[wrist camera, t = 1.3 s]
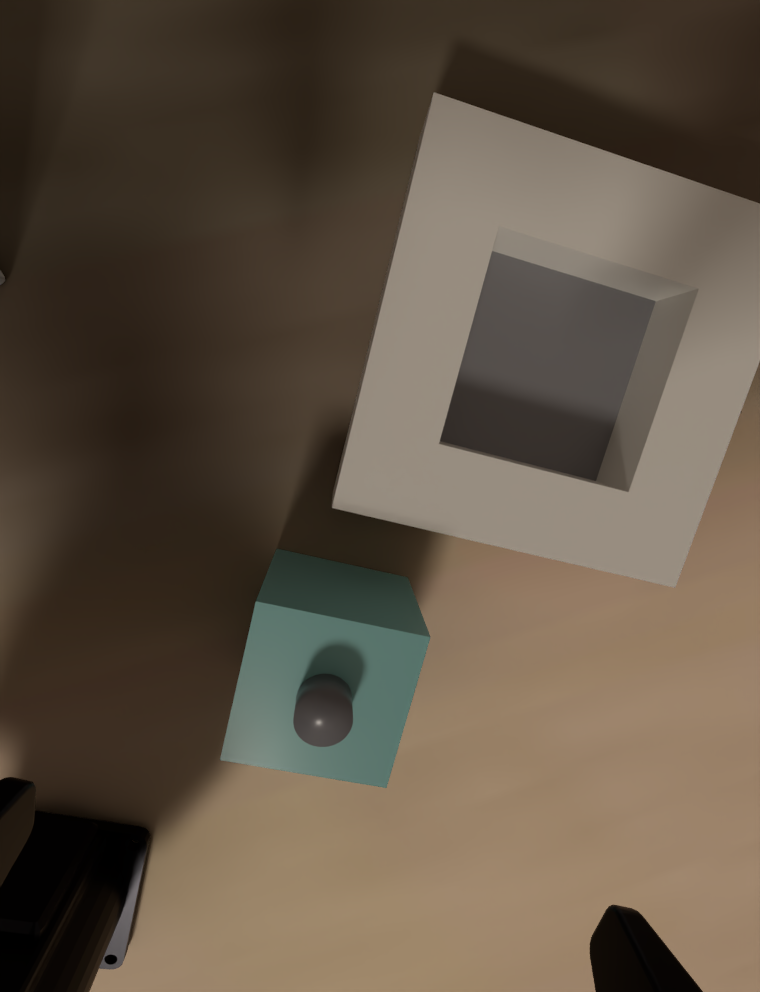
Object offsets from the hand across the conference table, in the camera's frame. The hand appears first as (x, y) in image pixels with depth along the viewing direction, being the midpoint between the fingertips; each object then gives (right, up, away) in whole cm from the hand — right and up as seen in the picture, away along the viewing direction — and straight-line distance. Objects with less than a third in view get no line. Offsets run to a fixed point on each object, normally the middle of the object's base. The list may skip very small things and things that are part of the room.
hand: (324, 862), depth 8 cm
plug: (-1, +1, +12) cm, 12 cm away
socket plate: (+6, +10, +10) cm, 16 cm away
